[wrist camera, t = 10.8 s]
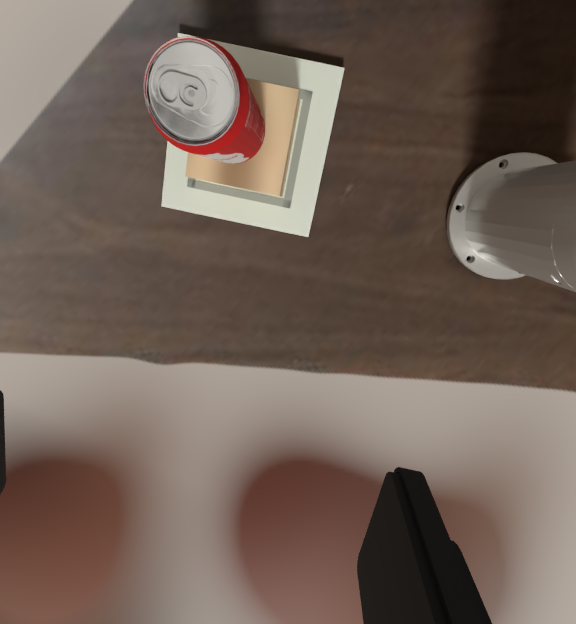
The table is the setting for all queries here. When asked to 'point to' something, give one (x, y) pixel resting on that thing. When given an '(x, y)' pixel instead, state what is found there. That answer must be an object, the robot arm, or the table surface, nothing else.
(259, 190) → the oak block
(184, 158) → the board
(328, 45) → the table surface
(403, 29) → the table surface
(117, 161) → the table surface
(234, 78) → the beverage can
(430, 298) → the table surface
